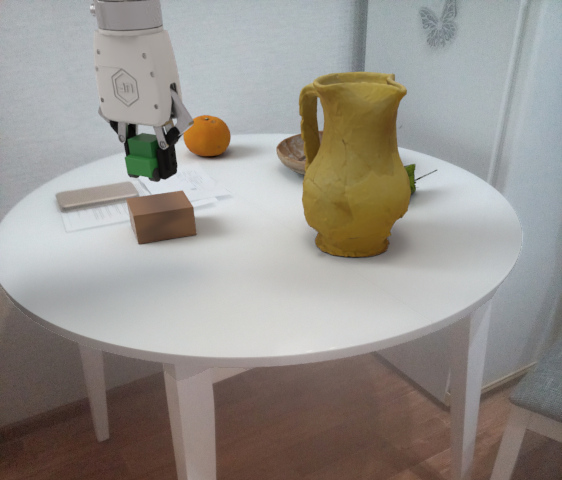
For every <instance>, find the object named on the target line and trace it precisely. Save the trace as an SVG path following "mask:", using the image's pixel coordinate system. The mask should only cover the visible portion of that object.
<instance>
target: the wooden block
mask: <svg viewBox="0 0 562 480" xmlns="http://www.w3.org/2000/svg"><path fill="white" fill-rule="evenodd" d="M125 202H126V205H127V211H128V216H129V222H130V225H131V229H132V232H133V234H134V236H135V239H136V242H137V244H138V245H142V244H148V243H154V242H161V241H167V240H173V239H180V238H184V237H190V236H191V237H192V236H196V235H197V226H196V217H195V210H194V209H195V208H194V206H193V204H192V202H191V201H190V199H189V197H188V196H187V195H186V193H185V191H184V190H176V191H168V192H161V193H154V194H148V195H147V194H146V195H139V196H133V197H126V198H125Z"/></svg>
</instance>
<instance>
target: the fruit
mask: <svg viewBox="0 0 562 480" xmlns="http://www.w3.org/2000/svg"><path fill="white" fill-rule="evenodd" d="M192 119H193V120H194V124H193V125H192V126H191V127H190V128H189V129H188V130H187V131H185V132H184V133H183V135H182V136H183V142H184V145H185V147H186V148H187V150H188V151H190V152H191V153H192V154H194V155H195V156H201V157H217V156H220V155H223V153H225V152H226V151H227V149H228V148H229V146H230V144H231V138H232V137H231V136H232V135H231V130H230V128H229V126H228V124H227V123H226V122H225V121H224V120H223V119H221V118H220V117H217V116H214V115H210V114H209V115H206V114H203V115H199V116H196V117H194V118H192Z"/></svg>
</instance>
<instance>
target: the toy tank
mask: <svg viewBox="0 0 562 480" xmlns="http://www.w3.org/2000/svg"><path fill="white" fill-rule="evenodd" d="M403 166H404V167H405V169H406V171H407V174H408V177H409V182H410V190H411V194H413V193H415V192H416V191H417V189H418V188H419V186H417V185H416V184H417V181H419V180H420V179H422V178H425V177H427V176H429V175H431V174H433V173H435V172H438V169H435V170H432V171H430V172H429V173H426V174H424V175H423V176H420V177H417V178H415V172H416V171H415V170H416V163H411V164H408V165H403ZM429 192H430V191H429Z"/></svg>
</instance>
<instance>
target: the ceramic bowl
mask: <svg viewBox="0 0 562 480" xmlns="http://www.w3.org/2000/svg"><path fill="white" fill-rule="evenodd" d="M322 136H323V130H319V138H320V144H321V141H322ZM275 151H276V155H277V158H278V159H279V161H280V162H281V163H282V165H284V166H285V167H286V168H288V169H290V170H291V171H293V172H295V173H298V174H301V175H302V176H305V174H306V172H305V162H306V157H305V155H304V141H303V140H302V138H301V133H297V134H293V135H291V136H289V137H286V138H284V139H283V140H281V141H279V143H278V144H277V146H276V149H275Z"/></svg>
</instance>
